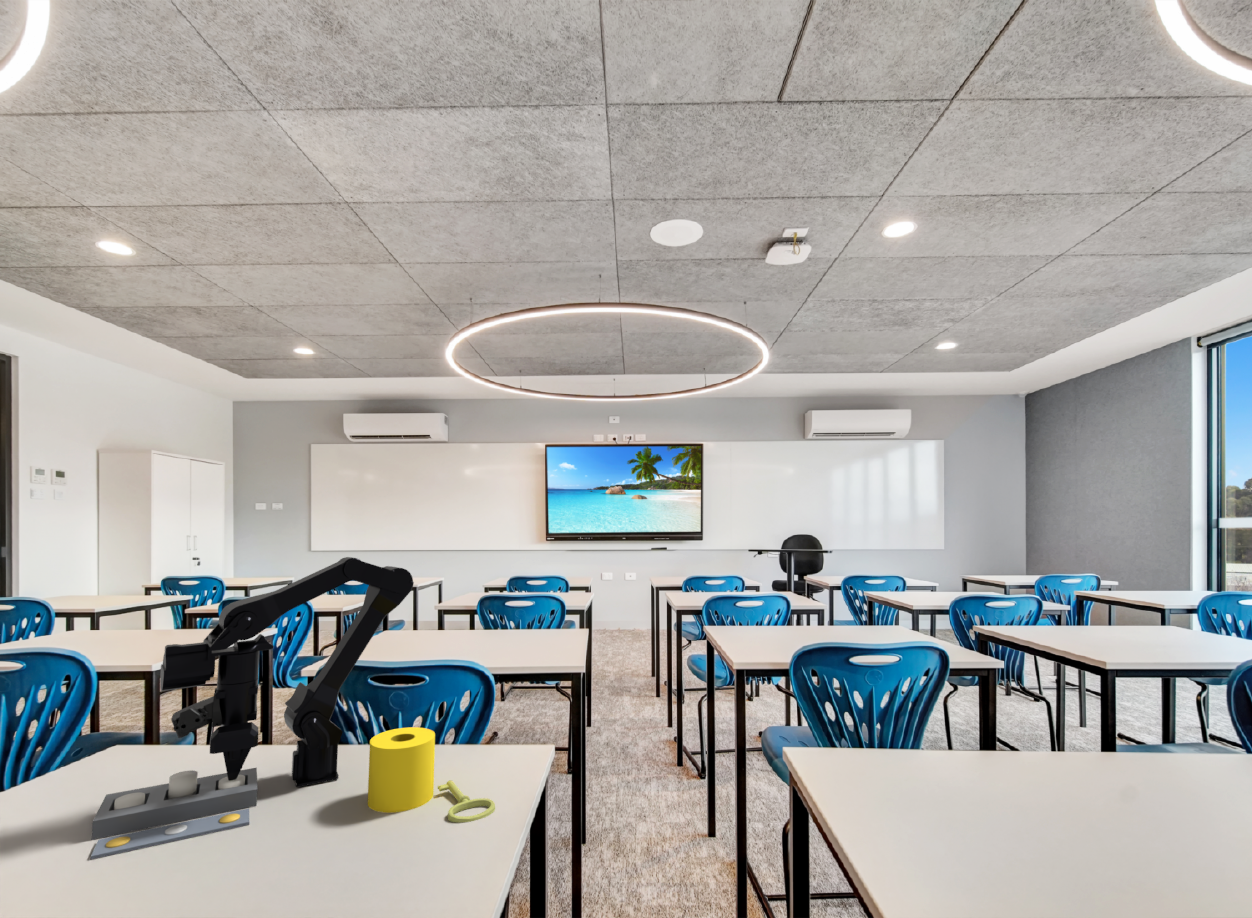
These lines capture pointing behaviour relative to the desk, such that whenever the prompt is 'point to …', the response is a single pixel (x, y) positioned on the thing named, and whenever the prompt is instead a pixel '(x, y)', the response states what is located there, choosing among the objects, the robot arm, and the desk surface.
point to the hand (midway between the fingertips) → (232, 779)
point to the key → (466, 804)
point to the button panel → (173, 805)
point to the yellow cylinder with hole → (401, 769)
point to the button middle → (182, 784)
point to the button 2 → (231, 782)
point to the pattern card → (170, 833)
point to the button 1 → (129, 800)
